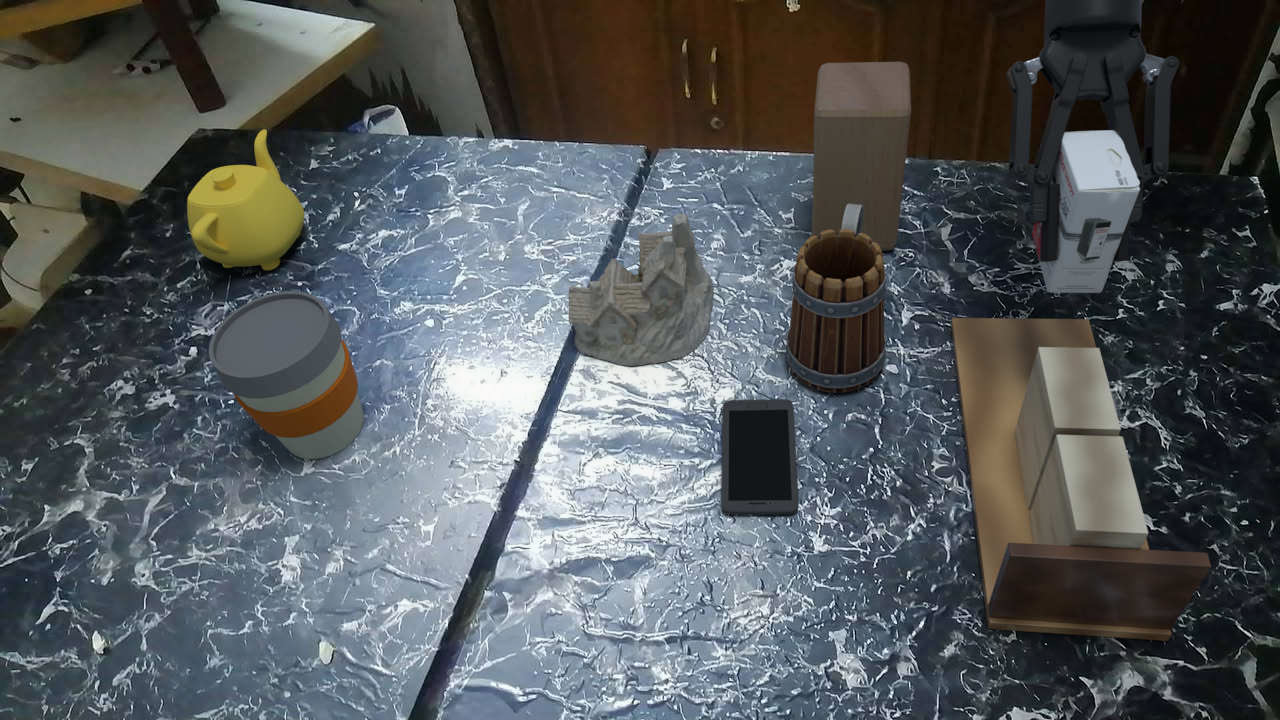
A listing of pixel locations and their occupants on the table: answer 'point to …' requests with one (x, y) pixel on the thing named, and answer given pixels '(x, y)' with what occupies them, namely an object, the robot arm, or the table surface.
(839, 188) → the wooden block
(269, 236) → the teapot
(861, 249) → the mug
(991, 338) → the shelf
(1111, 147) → the ink box
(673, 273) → the ceramic cottage
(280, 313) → the reusable coffee cup
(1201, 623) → the table surface
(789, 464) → the cell phone
